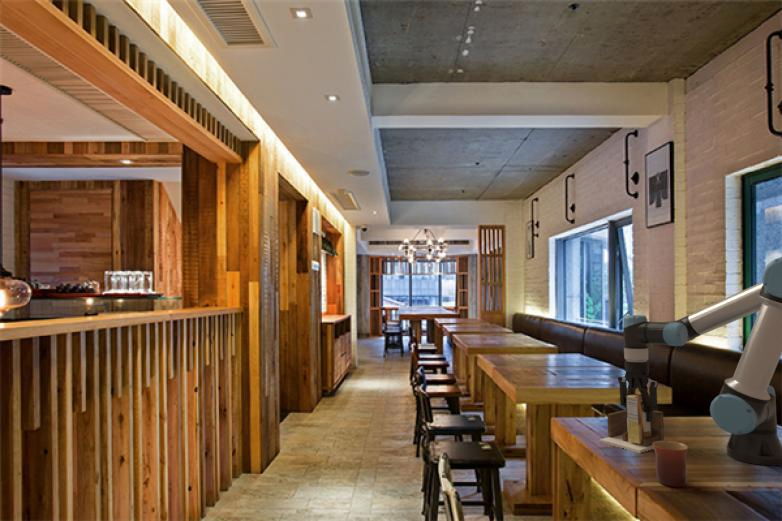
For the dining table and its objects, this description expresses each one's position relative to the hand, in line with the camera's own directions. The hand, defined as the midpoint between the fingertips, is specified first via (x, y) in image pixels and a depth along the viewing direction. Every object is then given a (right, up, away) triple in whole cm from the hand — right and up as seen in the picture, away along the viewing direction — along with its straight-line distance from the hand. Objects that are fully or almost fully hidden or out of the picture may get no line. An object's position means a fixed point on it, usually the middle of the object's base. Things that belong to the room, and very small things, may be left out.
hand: (639, 429), depth 176 cm
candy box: (0, -4, 0) cm, 4 cm away
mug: (-6, -4, -33) cm, 34 cm away
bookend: (+2, -5, +1) cm, 6 cm away
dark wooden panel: (-3, -6, +9) cm, 11 cm away
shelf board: (-2, -6, +1) cm, 6 cm away
